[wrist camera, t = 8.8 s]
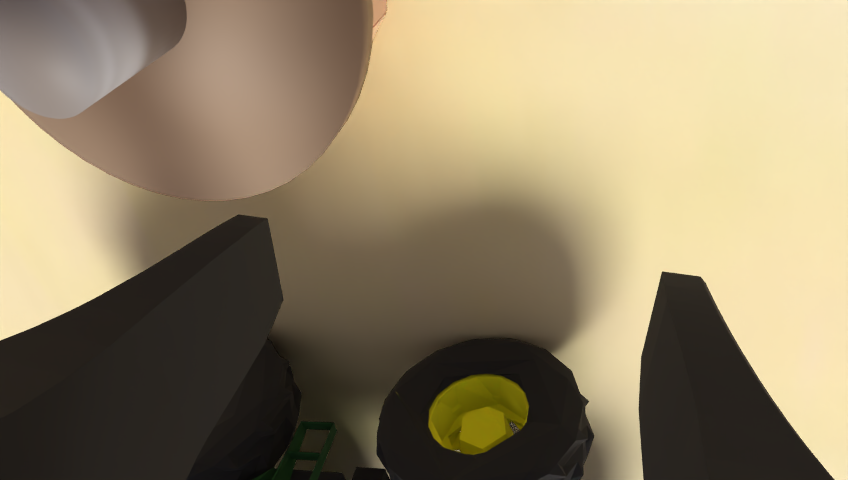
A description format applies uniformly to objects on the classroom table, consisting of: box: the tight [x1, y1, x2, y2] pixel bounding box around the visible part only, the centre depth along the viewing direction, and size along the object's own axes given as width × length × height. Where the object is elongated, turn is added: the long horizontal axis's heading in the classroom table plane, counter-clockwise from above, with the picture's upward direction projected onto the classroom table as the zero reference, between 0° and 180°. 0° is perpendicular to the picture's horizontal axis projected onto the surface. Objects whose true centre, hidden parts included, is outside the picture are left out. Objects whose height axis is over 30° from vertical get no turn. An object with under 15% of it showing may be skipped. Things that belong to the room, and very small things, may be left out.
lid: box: [0, 0, 373, 201], centre depth 15 cm, size 12×12×4 cm
